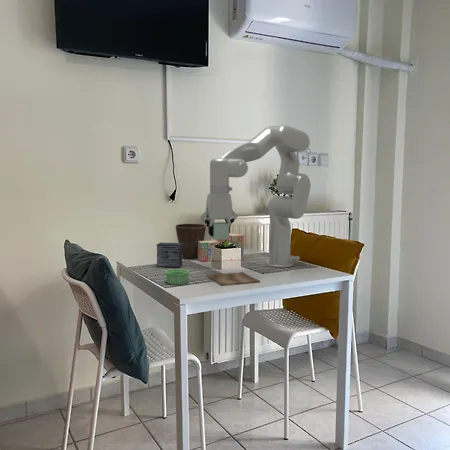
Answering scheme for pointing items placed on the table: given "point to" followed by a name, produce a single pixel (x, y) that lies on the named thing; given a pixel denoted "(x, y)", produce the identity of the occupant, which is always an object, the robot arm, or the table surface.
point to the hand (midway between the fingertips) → (219, 235)
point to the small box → (169, 255)
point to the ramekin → (177, 276)
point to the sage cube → (220, 230)
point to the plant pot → (190, 238)
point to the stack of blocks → (206, 246)
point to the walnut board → (232, 278)
